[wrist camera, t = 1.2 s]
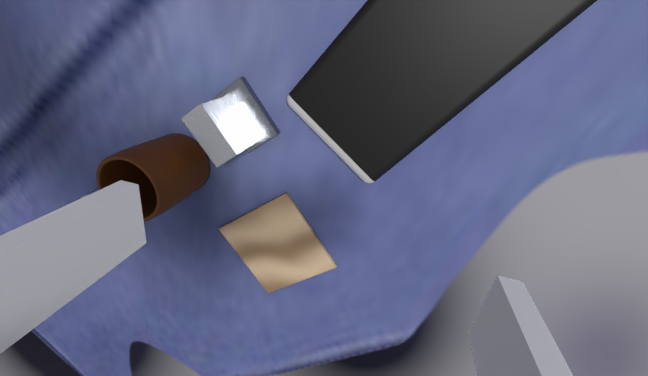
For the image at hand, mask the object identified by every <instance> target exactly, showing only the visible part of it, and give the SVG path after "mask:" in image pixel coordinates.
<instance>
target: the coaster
mask: <svg viewBox="0 0 648 376" xmlns="http://www.w3.org/2000/svg"><path fill="white" fill-rule="evenodd" d="M219 230H220V231H221V233H222V234H223V235H224V237H225V238H226V239H227V241H228V242H229V243H230V244H231V246H232V247H233V248H234V250H235V251H236V252H237V253H238V255H239V256H240V257H241V259H242V260H243V261H244V262H245V264H246V265H247V266H248V268H249V269H250V270H251V272H252V273H253V274H254V275H255V277H256V278H257V279H258V281H259V282H260V283H261V284H262V286H263V287H264V288H265V290H266V291H267V292H268V293H270V292H272V291H275V290H278V289H280V288H283V287H286V286H288V285H291V284H294V283H296V282H299V281H302V280H304V279H307V278H310V277H312V276H315V275H318V274H320V273H323V272H326V271H329V270H331V269H334V268H336V267H337V265H336V264H335V262H334V261H333V259H332V258H331V256H330V255H329V253H328V252H327V250H326V249H325V247H324V246H323V245H322V243H321V242H320V240H319V239H318V237H317V236H316V234H315V233H314V231H313V230H312V228H311V227H310V225H309V224H308V223H307V221H306V220H305V218H304V217H303V215H302V214H301V212H300V211H299V209H298V208H297V206H296V205H295V203H294V202H293V201H292V199H291V198H290V196H289V195H288V193H287V192H286V193H285V194H283V195H281V196H279V197H277V198H275V199H273V200H271V201H269V202H268V203H266V204H264V205H262V206H260V207H258V208H256V209H254V210H252V211H251V212H249V213H247V214H245V215H243V216H241V217H239V218H237V219H236V220H234V221H232V222H230V223H228V224H226V225H224V226H222V227H220V228H219Z"/></svg>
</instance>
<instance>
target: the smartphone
mask: <svg viewBox="0 0 648 376" xmlns="http://www.w3.org/2000/svg"><path fill="white" fill-rule="evenodd" d="M596 1H597V0H368V1H367V2H366V3H365V4H364V5H363V6H362V8H361V9H360V10H359V11H358V12H357V14H356V15H355V16H354V17H353V18H352V20H351V21H350V22H349V23H348V24H347V26H346V27H345V28H344V29H343V30H342V31H341V33H340V34H339V35H338V36H337V37H336V39H335V40H334V41H333V42H332V43H331V45H330V46H329V47H328V48H327V49H326V51H325V52H324V53H323V54H322V55H321V56H320V58H319V59H318V60H317V61H316V62H315V64H314V65H313V66H312V67H311V68H310V70H309V71H308V72H307V73H306V74H305V75H304V77H303V78H302V79H301V80H300V81H299V83H298V84H297V85H296V86H295V87H294V89H293V90H292V91H291V92H290V93H289V95H288V97H287V103H288V105H289V106H290V107H291V108H292V109H293V110H294V111H295V112H296V113H297V114H298V115H299V116H300V117H301V119H302V120H303V121H304V122H305V123H306V124H307V125H308V126H309V127H310V128H311V129H312V130H313V131H314V132H315V133H316V134H317V135H318V136H319V137H320V138H321V139H322V140H323V141H324V142H325V143H326V144H327V145H328V146H329V147H330V148H331V149H332V150H333V151H334V152H335V153H336V154H337V155H338V156H339V157H340V158H341V159H342V160H343V161H344V162H345V163H346V164H347V165H348V166H349V167H350V168H351V169H352V170H353V171H354V172H355V173H356V174H357V175H358V176H359V177H360V178H361V179H362V180H363V181H364V182H366V183H373V182H375V181H376V180H377V179H379V178H380V177H381V176H382V175H383V174H385V173H386V172H387V171H388V170H390V169H391V168H392V167H393V166H394V165H396V164H397V163H398V162H399V161H401V160H402V159H403V158H404V157H406V156H407V155H408V154H409V153H410V152H412V151H413V150H414V149H415V148H417V147H418V146H419V145H420V144H421V143H423V142H424V141H425V140H426V139H428V138H429V137H430V136H431V135H432V134H434V133H435V132H436V131H437V130H439V129H440V128H441V127H442V126H444V125H445V124H446V123H447V122H448V121H450V120H451V119H452V118H453V117H455V116H456V115H457V114H458V113H459V112H461V111H462V110H463V109H464V108H466V107H467V106H468V105H469V104H471V103H472V102H473V101H474V100H475V99H477V98H478V97H479V96H480V95H482V94H483V93H484V92H485V91H486V90H488V89H489V88H490V87H491V86H493V85H494V84H495V83H496V82H498V81H499V80H500V79H501V78H502V77H504V76H505V75H506V74H507V73H509V72H510V71H511V70H512V69H513V68H515V67H516V66H517V65H518V64H520V63H521V62H522V61H523V60H525V59H526V58H527V57H528V56H529V55H531V54H532V53H533V52H534V51H536V50H537V49H538V48H539V47H540V46H542V45H543V44H544V43H545V42H547V41H548V40H549V39H550V38H551V37H553V36H554V35H555V34H556V33H558V32H559V31H560V30H561V29H563V28H564V27H565V26H566V25H567V24H569V23H570V22H571V21H572V20H574V19H575V18H576V17H577V16H578V15H580V14H581V13H582V12H583V11H585V10H586V9H587V8H588V7H590V6H591V5H592V4H593V3H594V2H596Z"/></svg>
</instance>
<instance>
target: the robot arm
mask: <svg viewBox="0 0 648 376" xmlns="http://www.w3.org/2000/svg"><path fill="white" fill-rule="evenodd" d="M145 244H146V235H145V228H144V221H143V214H142V206H141V199H140V192H139V185H138V184H135V183H131V182H127V181H123V180H120V181H118V182H116V183H114V184H111V185H109V186H107V187H105V188H103V189H101V190H98V191H96V192H94V193H92V194H90V195H88V196H85V197H83V198H81V199H79V200H77V201H75V202H72V203H70V204H68V205H66V206H64V207H62V208H59V209H57V210H55V211H53V212H51V213H49V214H46V215H44V216H42V217H40V218H38V219H36V220H33V221H31V222H29V223H27V224H25V225H23V226H20V227H18V228H16V229H14V230H12V231H9V232H7V233H5V234H3V235H1V236H0V353H1V352H3V351H4V350H6V349H7V348H8V347H9V346H11V345H12V344H14V343H15V342H16V341H17V340H19V339H20V338H22V337H23V336H24V335H25V334H27V333H28V332H29V331H31V330H32V329H33V328H35V327H36V326H37V325H39V324H40V323H41V322H43V321H44V320H45V319H47V318H48V317H49V316H51V315H52V314H53V313H55V312H56V311H57V310H59V309H60V308H61V307H63V306H64V305H65V304H67V303H68V302H69V301H70V300H72V299H73V298H74V297H76V296H77V295H78V294H80V293H81V292H82V291H84V290H85V289H86V288H88V287H89V286H90V285H92V284H93V283H94V282H96V281H97V280H98V279H100V278H101V277H102V276H104V275H105V274H106V273H108V272H109V271H110V270H111V269H113V268H114V267H115V266H117V265H118V264H119V263H121V262H122V261H123V260H125V259H126V258H127V257H129V256H130V255H131V254H133V253H134V252H135V251H137V250H138V249H139V248H141V247H142V246H143V245H145ZM468 337H469V342H470V346H471V350H472V354H473V358H474V362H475V366H476V370H477V375H478V376H573V375H572V373H571V371H570V369H569V367H568V365H567V364H566V361H565V360H564V358H563V356H562V354H561V352H560V350H559V348H558V347H557V345H556V343H555V341H554V339H553V337H552V335H551V334H550V332H549V330H548V328H547V326H546V324H545V322H544V321H543V319H542V317H541V315H540V313H539V311H538V309H537V307H536V306H535V304H534V302H533V300H532V298H531V296H530V294H529V292H528V291H527V289H526V287H525V285H524V283H523V282H522V281H517V280H514V279H510V278H506V277H502V276H498V275H497V277H496V279H495V281H494V283H493V285H492V287H491V289H490V291H489V293H488V295H487V297H486V299H485V301H484V303H483V305H482V306H481V308H480V310H479V312H478V314H477V316H476V318H475V320H474V322H473V324H472V326H471V328H470V330H469V332H468Z"/></svg>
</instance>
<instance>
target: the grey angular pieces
mask: <svg viewBox="0 0 648 376" xmlns="http://www.w3.org/2000/svg"><path fill="white" fill-rule="evenodd" d="M182 121H183V122H184V123H185V125H186V126H187V128H188V129H189V130H190V132H191V133H192V134H193V136H194V137H195V138H196V140H197V141H198V143H199V144H200V145H201V147H202V148H203V149H204V151H205V152H206V154H207V155H208V156H209V158H210V159H211V160H212V162H213V163H214V164H215V166H216V167H219V166H221V165H222V164H224V163H225V162H227V161H228V160H230V159H232V158H233V157H235V156H236V155H238V154H239V153H241V152H243V151H244V150H247V151H248V153H249V152H251V151H252V150H254V149H255V148H257V147H258V146H260V145H262V144H263V143H265V142H266V141H268V140H269V139H271V138H273V137H274V136H276V135H277V134H279V133H280V131H279V130H278V128H277V127H276V125H275V124H274V122H273V120H272V119H271V117H270V116H269V114H268V113H267V111H266V110H265V108H264V107H263V105H262V104H261V102H260V100H259V99H258V97H257V96H256V94H255V93H254V91H253V90H252V88H251V87H250V85H249V84H248V82H247V80H246V79H245V77H241V78H239V79H237V80H236V81H235V82H234V83H232V84H231V85H230V86H229V87H227V88H226V89H225V90H223V91H222V92H221V93H220V94H218V95H217V96H216V97H214V98H213V99H212V101H208V102H204V103H200V104H199V105H198V106H197V107H195V108H194V109H193V110H192V111H190V112H189V113H188V114H187V115H185V116H184V117H183V118H182ZM98 190H99V188H98V189H97V190H95V191H92V192H90V193H88V194H86V195H84V196H83V197H85V196H88V195H90V194H92V193H94V192H96V191H98ZM83 197H82V198H83Z"/></svg>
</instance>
